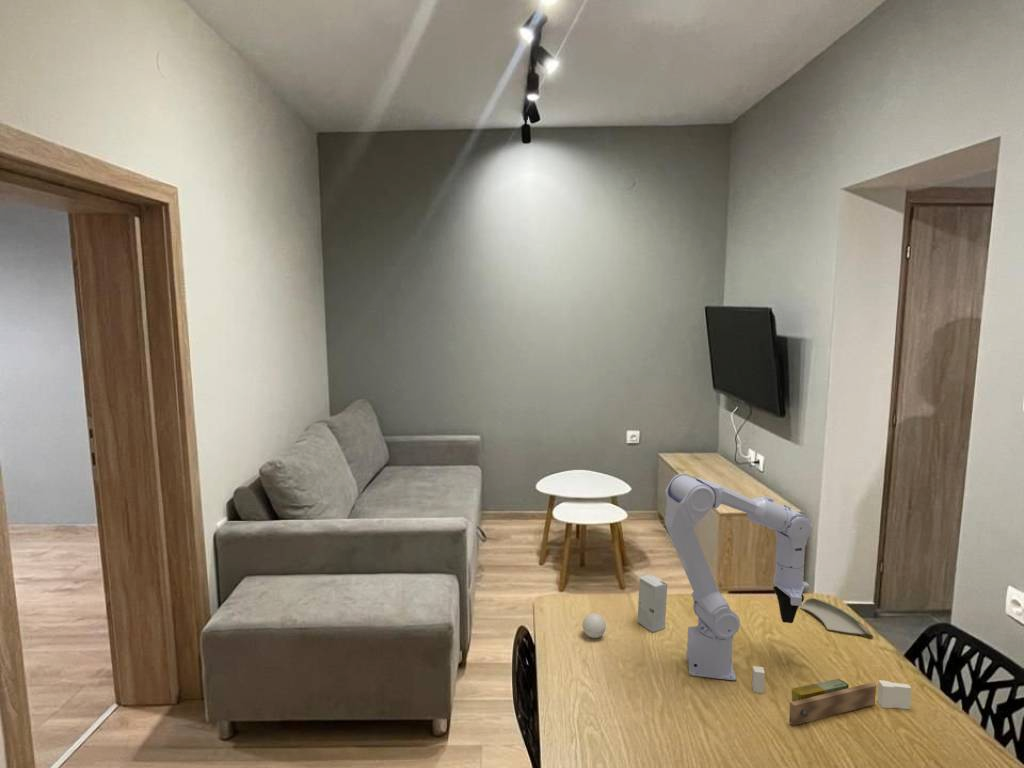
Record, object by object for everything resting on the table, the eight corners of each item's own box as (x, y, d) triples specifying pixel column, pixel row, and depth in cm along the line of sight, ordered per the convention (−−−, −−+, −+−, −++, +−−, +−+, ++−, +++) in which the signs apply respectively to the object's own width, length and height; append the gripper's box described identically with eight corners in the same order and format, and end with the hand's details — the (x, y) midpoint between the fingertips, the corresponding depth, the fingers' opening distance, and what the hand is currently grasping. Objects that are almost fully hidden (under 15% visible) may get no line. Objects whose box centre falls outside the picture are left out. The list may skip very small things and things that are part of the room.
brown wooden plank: (796, 728, 109) (797, 708, 108) (789, 721, 110) (790, 702, 110) (878, 706, 114) (879, 688, 114) (870, 701, 116) (871, 682, 116)
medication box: (839, 697, 118) (838, 677, 118) (850, 704, 116) (850, 684, 116) (791, 707, 115) (790, 687, 115) (801, 715, 112) (801, 694, 112)
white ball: (604, 630, 144) (605, 609, 143) (606, 643, 138) (606, 621, 138) (574, 629, 145) (574, 607, 144) (574, 641, 139) (574, 619, 139)
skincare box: (636, 622, 148) (637, 576, 147) (650, 617, 150) (651, 573, 149) (653, 633, 142) (654, 586, 141) (666, 628, 145) (667, 582, 143)
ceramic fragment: (874, 640, 139) (874, 620, 139) (856, 647, 136) (857, 627, 136) (806, 608, 156) (807, 590, 155) (789, 614, 153) (790, 596, 152)
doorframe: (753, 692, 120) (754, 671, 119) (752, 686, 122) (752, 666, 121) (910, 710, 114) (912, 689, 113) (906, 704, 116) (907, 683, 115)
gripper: (818, 578, 120) (815, 640, 122) (801, 551, 134) (798, 607, 136) (782, 575, 122) (779, 636, 123) (768, 549, 136) (766, 604, 137)
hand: (787, 621), depth 130 cm, fingers closed
